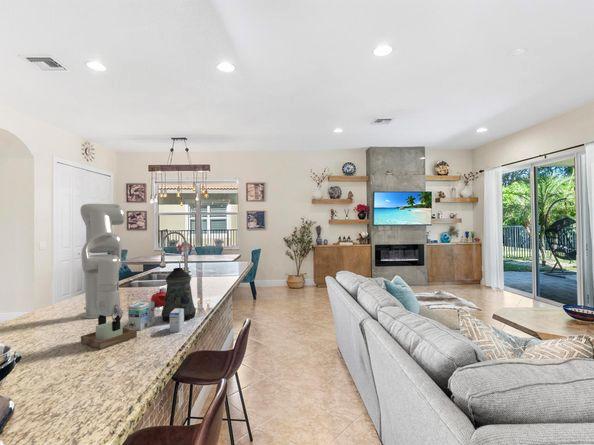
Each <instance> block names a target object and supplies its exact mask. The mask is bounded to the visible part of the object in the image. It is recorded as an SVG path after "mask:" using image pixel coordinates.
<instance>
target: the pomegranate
mask: <svg viewBox="0 0 594 445" xmlns="http://www.w3.org/2000/svg"><path fill="white" fill-rule="evenodd" d="M165 296H166V291H164V290H163V289H162V288H159V290H158V291H154V292H153V293H152V295H151V297H150V301H151V302H154V307H162V306H163V307H164V303H165Z"/></svg>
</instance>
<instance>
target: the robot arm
mask: <svg viewBox="0 0 594 445" xmlns="http://www.w3.org/2000/svg"><path fill="white" fill-rule="evenodd" d="M80 215H81V218H82V221H83V223H84V225H85V243H84V245H83V247H82V249H81V268H82V271H83V273H84V285H85V286H84V287H85V288H84V290H85V292H84V294H85V295H84V296H85V297H84V298H85V307H84V308H83V309H84V310H85V312H84V313H82V316H81V317H82V319H97V326H98V325H102V324H105V323H107V318H110V317H111V320H112V321H111V322H112V331H116V330H119V329H120V322H121V320H122V317H123V314H124V310H123V309H122V308H121V297H120V284H119V283H120V280H119V279H120V278H119V277H120V275H119V274H120V273H119V272H120V269H121V267H122V238H121V237H120V235H119V234H114V231H113V226H122V225H123V224H124V223H125V222H126V214H125V211H124V208H123V207H122V206H120V205H119V204H116V203H86V204H82V205H81V206H80ZM101 253H102V254H101ZM107 253H109V254H107ZM90 254H93V255H90Z"/></svg>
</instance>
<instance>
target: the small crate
mask: <svg viewBox="0 0 594 445" xmlns="http://www.w3.org/2000/svg"><path fill="white" fill-rule="evenodd" d="M122 327H123V322H121V321H120V329H119V330H116V331H112V321H109V322H106V323H105V324H102V325H98V324H97V325H96V326H95V332H96V340H99V341H103V340H106V339H109V338H112V337H115V336H118V335H122V334H123V330H122Z"/></svg>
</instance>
